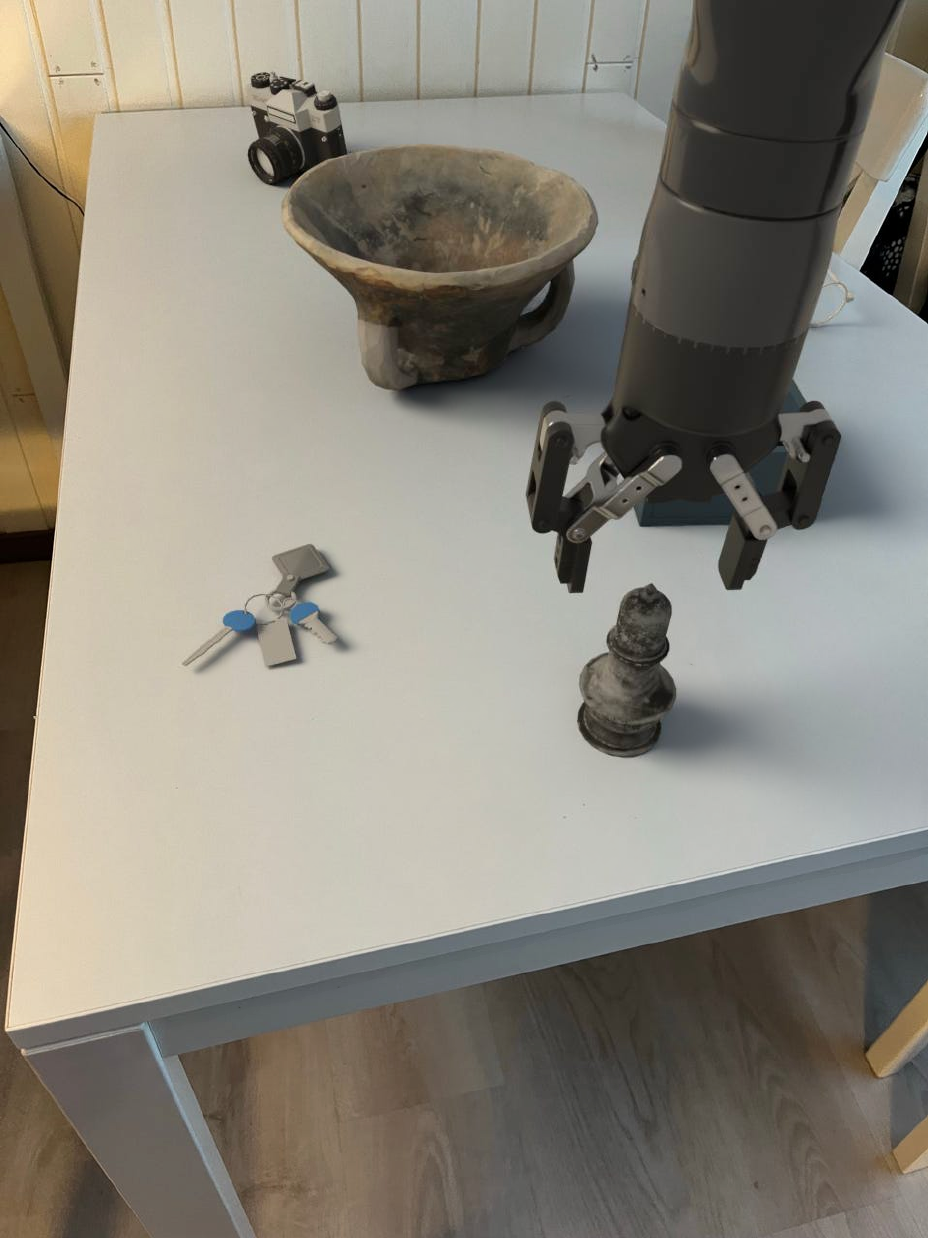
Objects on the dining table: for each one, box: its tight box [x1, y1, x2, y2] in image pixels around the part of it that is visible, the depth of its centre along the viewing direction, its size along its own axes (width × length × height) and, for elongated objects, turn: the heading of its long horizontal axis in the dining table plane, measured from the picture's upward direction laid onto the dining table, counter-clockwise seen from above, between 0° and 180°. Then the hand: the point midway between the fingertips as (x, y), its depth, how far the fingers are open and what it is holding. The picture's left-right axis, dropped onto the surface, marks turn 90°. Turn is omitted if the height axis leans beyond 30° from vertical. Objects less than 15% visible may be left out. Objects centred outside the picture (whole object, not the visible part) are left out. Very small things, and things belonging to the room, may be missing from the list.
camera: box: [245, 71, 349, 185], centre depth 119 cm, size 15×11×10 cm
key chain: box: [181, 543, 338, 668], centre depth 65 cm, size 14×8×1 cm, turn 157°
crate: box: [633, 379, 808, 527], centre depth 77 cm, size 14×14×7 cm
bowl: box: [280, 143, 599, 391], centre depth 86 cm, size 27×26×15 cm
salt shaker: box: [576, 582, 677, 758], centre depth 56 cm, size 6×6×12 cm
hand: (651, 581), depth 51 cm, fingers open, 8 cm apart
